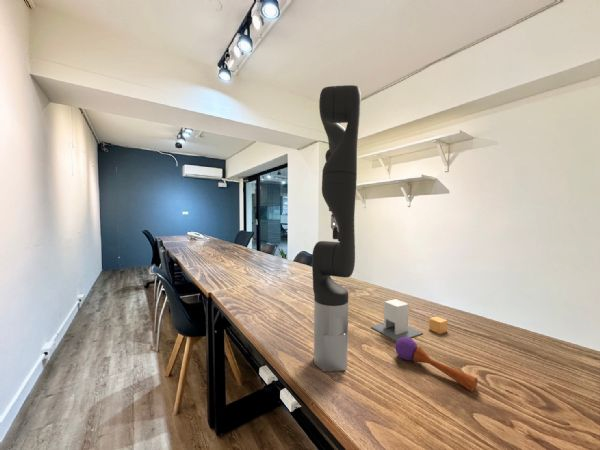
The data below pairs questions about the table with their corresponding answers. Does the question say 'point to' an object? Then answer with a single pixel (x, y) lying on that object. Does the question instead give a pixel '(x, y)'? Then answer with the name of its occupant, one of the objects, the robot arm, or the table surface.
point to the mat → (391, 332)
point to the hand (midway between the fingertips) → (337, 240)
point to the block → (438, 325)
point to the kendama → (432, 362)
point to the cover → (396, 315)
